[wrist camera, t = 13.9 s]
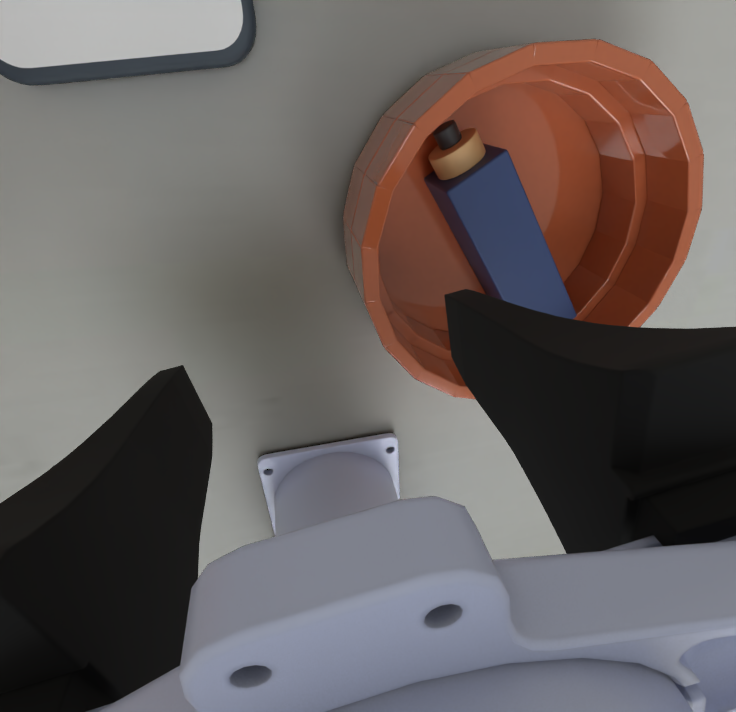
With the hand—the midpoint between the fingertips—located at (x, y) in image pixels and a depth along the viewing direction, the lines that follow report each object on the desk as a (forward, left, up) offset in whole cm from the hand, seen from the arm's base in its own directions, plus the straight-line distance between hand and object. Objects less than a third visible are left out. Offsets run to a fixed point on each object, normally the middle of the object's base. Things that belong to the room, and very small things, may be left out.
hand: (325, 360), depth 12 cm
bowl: (0, -9, -9) cm, 13 cm away
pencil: (0, -9, -9) cm, 12 cm away
